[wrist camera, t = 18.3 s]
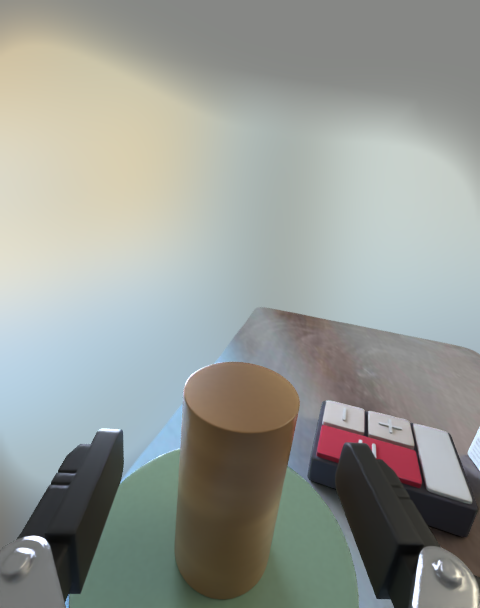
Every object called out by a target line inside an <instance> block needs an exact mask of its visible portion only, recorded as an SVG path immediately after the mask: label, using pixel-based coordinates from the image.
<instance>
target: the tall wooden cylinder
mask: <svg viewBox="0 0 480 608" xmlns="http://www.w3.org/2000/svg"><path fill="white" fill-rule="evenodd" d="M183 392H184V393H183V408H182V425H181V443H180V460H179V478H178V495H177V513H176V531H175V559H176V563H177V566H178V568H179V571H180V573H181V575H182V576H183V578H184V579H185V581H186V582H187V583H188V584H189V585H190V586H191V587H192V588H193V589H194V590H196V591H197V592H198V593H200V594H202V595H204V596H206V597H209V598H213V599H232V598H235V597H238V596H241V595H243V594H245V593H246V592H248V591H249V590H251V589H252V588H253V587H254V586H255V585H256V584H257V583H258V581H259V580H260V579H261V577H262V575H263V573H264V571H265V569H266V566H267V562H268V558H269V553H270V548H271V543H272V538H273V534H274V529H275V524H276V519H277V514H278V509H279V504H280V499H281V494H282V490H283V485H284V480H285V475H286V470H287V465H288V460H289V455H290V451H291V446H292V441H293V436H294V431H295V426H296V421H297V416H298V412H299V406H300V401H299V397H298V394H297V392H296V390H295V388H294V387H293V386H292V384H291V383H290V382H289V381H288V380H286V379H285V378H284V377H283V376H281V375H279V374H278V373H276V372H274V371H272V370H270V369H268V368H265V367H262V366H259V365H255V364H250V363H243V362H222V363H216V364H212V365H209V366H206V367H204V368H201V369H200V370H198V371H196V372H195V373H193V374H192V375H191V376H190V377H189V379H188V380H187V382H186V384H185V386H184V391H183Z"/></svg>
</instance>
